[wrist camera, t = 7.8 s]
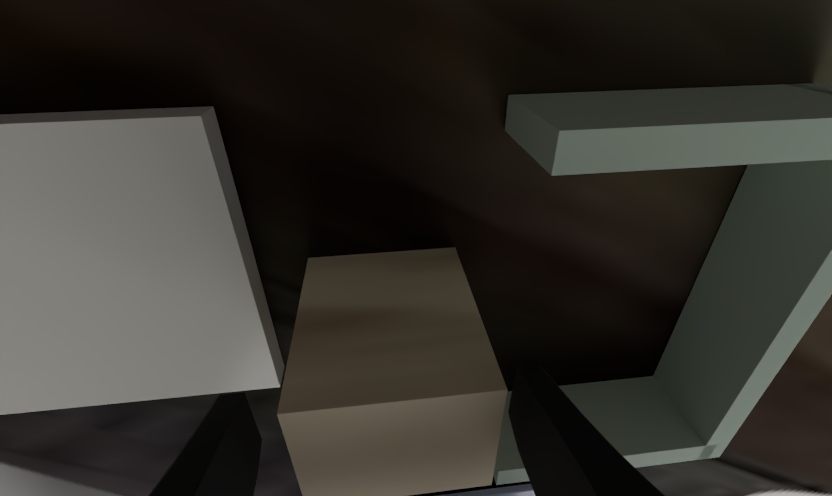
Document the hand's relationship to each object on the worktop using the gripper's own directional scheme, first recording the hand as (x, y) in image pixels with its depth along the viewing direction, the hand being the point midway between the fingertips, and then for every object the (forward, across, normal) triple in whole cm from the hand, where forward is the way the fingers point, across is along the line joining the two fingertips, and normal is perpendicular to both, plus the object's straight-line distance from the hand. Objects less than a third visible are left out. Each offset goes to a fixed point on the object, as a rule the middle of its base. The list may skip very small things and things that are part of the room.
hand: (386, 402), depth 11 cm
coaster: (+4, +9, -2) cm, 10 cm away
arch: (+4, -9, 0) cm, 10 cm away
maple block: (+5, 0, 0) cm, 5 cm away
